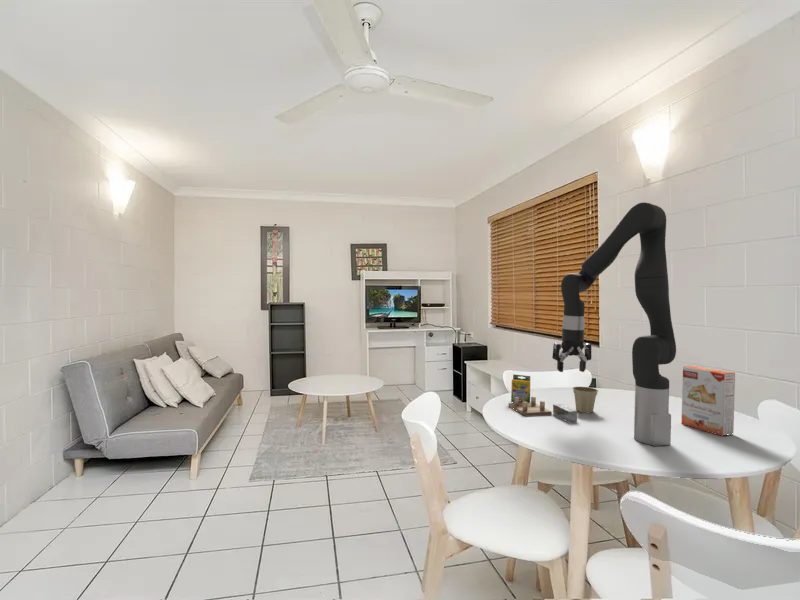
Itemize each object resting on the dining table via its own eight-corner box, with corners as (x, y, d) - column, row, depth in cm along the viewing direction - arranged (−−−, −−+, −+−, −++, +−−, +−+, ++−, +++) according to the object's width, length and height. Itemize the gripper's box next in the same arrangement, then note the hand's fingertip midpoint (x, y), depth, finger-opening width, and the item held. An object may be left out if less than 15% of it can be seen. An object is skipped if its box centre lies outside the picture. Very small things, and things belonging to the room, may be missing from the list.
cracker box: (680, 424, 152) (681, 365, 152) (691, 422, 154) (693, 365, 154) (722, 437, 139) (723, 373, 139) (734, 435, 141) (736, 372, 141)
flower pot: (592, 408, 172) (593, 386, 172) (601, 414, 163) (602, 392, 163) (568, 407, 173) (569, 386, 173) (576, 413, 164) (576, 391, 163)
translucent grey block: (577, 422, 154) (577, 411, 154) (568, 422, 153) (568, 411, 153) (561, 414, 164) (561, 403, 164) (553, 414, 163) (553, 404, 163)
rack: (551, 414, 162) (551, 403, 162) (524, 416, 160) (524, 404, 160) (533, 405, 176) (533, 394, 176) (508, 406, 174) (508, 395, 174)
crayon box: (510, 403, 179) (511, 375, 178) (512, 401, 181) (512, 374, 181) (528, 405, 175) (529, 377, 175) (530, 403, 178) (530, 375, 178)
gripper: (560, 329, 152) (558, 374, 153) (597, 329, 154) (595, 373, 155) (550, 326, 159) (548, 369, 160) (584, 326, 162) (583, 369, 163)
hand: (571, 371), depth 158 cm, fingers open, 8 cm apart
